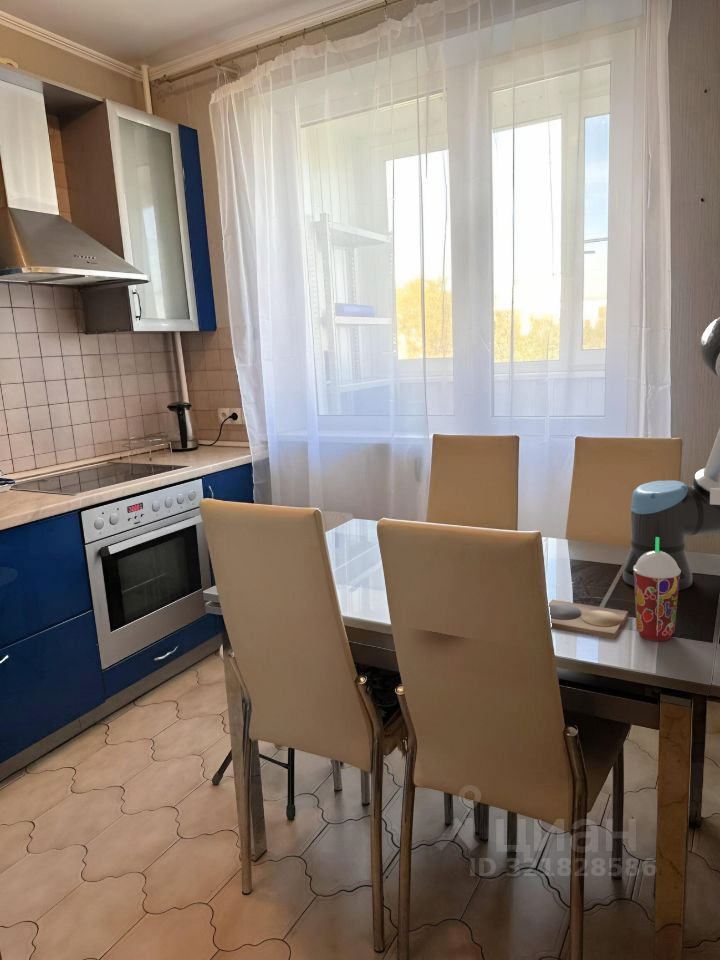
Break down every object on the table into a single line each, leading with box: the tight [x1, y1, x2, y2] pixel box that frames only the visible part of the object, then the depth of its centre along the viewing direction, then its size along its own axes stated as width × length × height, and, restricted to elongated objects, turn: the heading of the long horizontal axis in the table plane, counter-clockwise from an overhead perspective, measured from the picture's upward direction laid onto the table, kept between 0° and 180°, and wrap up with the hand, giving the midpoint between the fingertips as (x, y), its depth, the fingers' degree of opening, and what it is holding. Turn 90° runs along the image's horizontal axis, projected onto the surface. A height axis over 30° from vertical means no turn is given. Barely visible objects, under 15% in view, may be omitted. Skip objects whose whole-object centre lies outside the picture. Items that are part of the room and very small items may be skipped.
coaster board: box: [548, 599, 629, 640], centre depth 140 cm, size 12×16×1 cm
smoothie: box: [633, 537, 681, 642], centre depth 129 cm, size 8×8×20 cm
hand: (714, 487), depth 120 cm, fingers open, 13 cm apart
